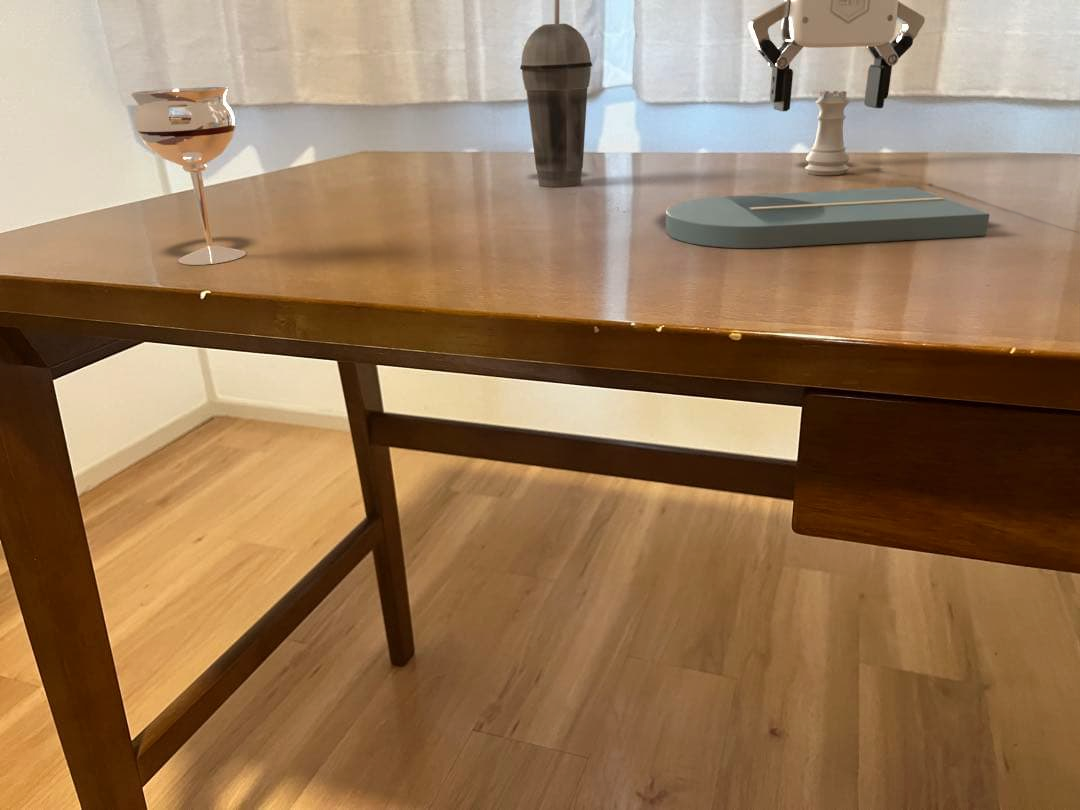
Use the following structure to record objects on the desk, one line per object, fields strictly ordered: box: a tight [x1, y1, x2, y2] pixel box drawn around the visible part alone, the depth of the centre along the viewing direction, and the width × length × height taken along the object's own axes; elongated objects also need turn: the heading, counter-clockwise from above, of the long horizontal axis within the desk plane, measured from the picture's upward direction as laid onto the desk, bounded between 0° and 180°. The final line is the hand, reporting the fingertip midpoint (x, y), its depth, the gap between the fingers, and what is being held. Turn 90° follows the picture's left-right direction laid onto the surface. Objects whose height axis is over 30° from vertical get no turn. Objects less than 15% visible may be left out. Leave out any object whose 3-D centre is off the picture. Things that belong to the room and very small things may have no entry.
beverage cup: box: [519, 0, 593, 188], centre depth 87 cm, size 7×7×20 cm
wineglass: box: [128, 86, 247, 266], centre depth 63 cm, size 7×7×12 cm
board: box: [665, 186, 990, 249], centre depth 66 cm, size 22×12×2 cm, turn 94°
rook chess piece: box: [804, 90, 850, 176], centre depth 88 cm, size 4×4×8 cm
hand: (827, 108), depth 88 cm, fingers open, 9 cm apart
